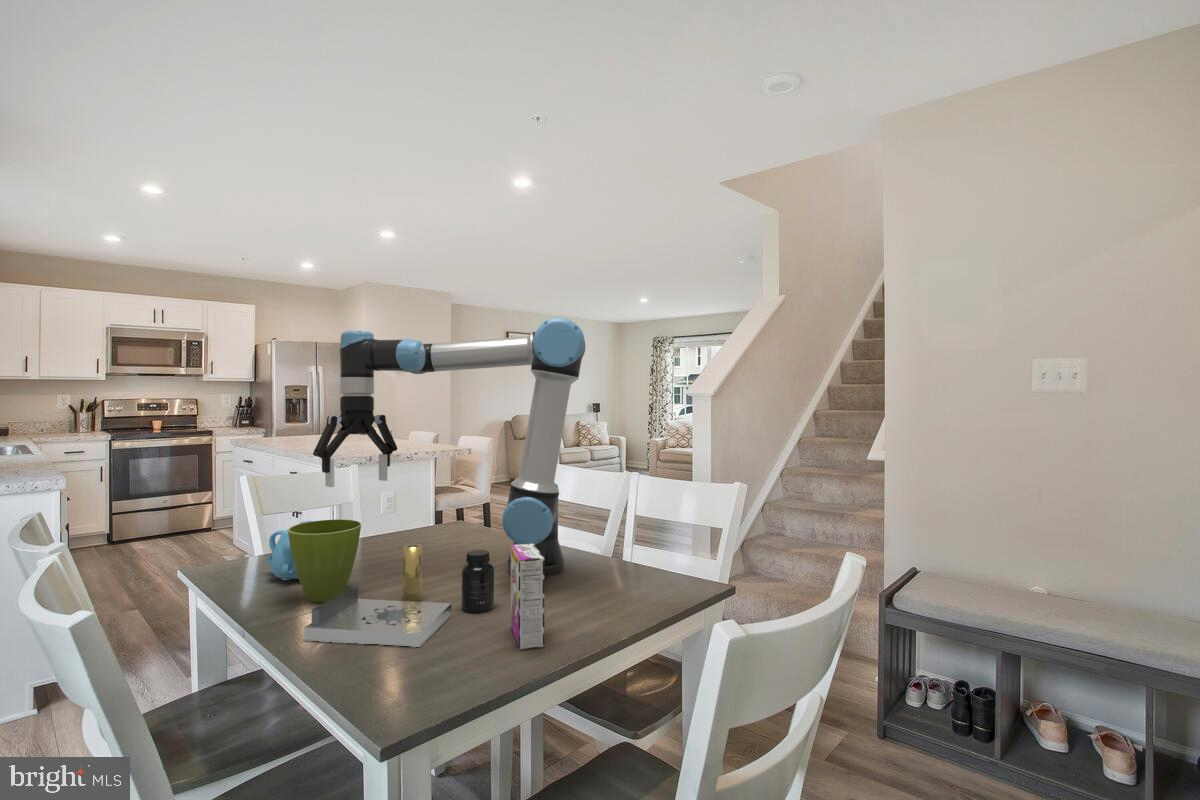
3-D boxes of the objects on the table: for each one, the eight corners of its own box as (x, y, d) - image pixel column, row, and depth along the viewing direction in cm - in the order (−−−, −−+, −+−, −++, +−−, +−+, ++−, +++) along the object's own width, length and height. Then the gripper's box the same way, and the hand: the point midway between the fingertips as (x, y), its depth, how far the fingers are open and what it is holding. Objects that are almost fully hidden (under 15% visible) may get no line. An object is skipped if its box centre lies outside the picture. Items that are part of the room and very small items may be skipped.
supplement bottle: (458, 605, 128) (459, 549, 128) (489, 601, 131) (490, 547, 131) (464, 615, 122) (465, 557, 122) (497, 611, 125) (497, 554, 125)
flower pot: (324, 612, 123) (325, 536, 123) (271, 603, 128) (271, 530, 128) (374, 591, 137) (375, 522, 137) (325, 583, 142) (325, 517, 142)
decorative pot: (348, 578, 147) (349, 523, 147) (275, 589, 137) (276, 531, 138) (333, 563, 160) (334, 513, 160) (265, 573, 151) (266, 519, 151)
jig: (451, 615, 122) (451, 588, 122) (419, 647, 106) (419, 617, 106) (350, 610, 124) (350, 584, 124) (304, 641, 108) (304, 611, 108)
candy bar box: (508, 627, 116) (509, 544, 116) (534, 625, 117) (534, 542, 117) (517, 651, 105) (518, 559, 105) (545, 648, 106) (546, 557, 106)
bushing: (424, 597, 133) (424, 544, 133) (416, 603, 129) (417, 548, 129) (407, 596, 133) (407, 543, 133) (399, 602, 129) (399, 547, 129)
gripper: (394, 395, 155) (394, 476, 155) (297, 395, 135) (297, 487, 135) (411, 395, 150) (411, 479, 150) (312, 395, 130) (313, 491, 130)
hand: (357, 483), depth 143 cm, fingers open, 13 cm apart
